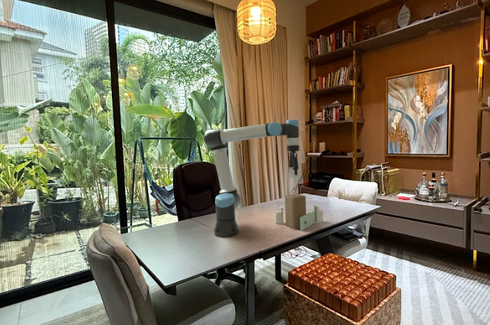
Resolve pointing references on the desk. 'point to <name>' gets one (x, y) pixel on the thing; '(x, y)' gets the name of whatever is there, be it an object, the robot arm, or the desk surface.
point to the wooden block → (294, 209)
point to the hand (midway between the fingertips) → (293, 178)
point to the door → (307, 220)
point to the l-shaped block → (317, 215)
